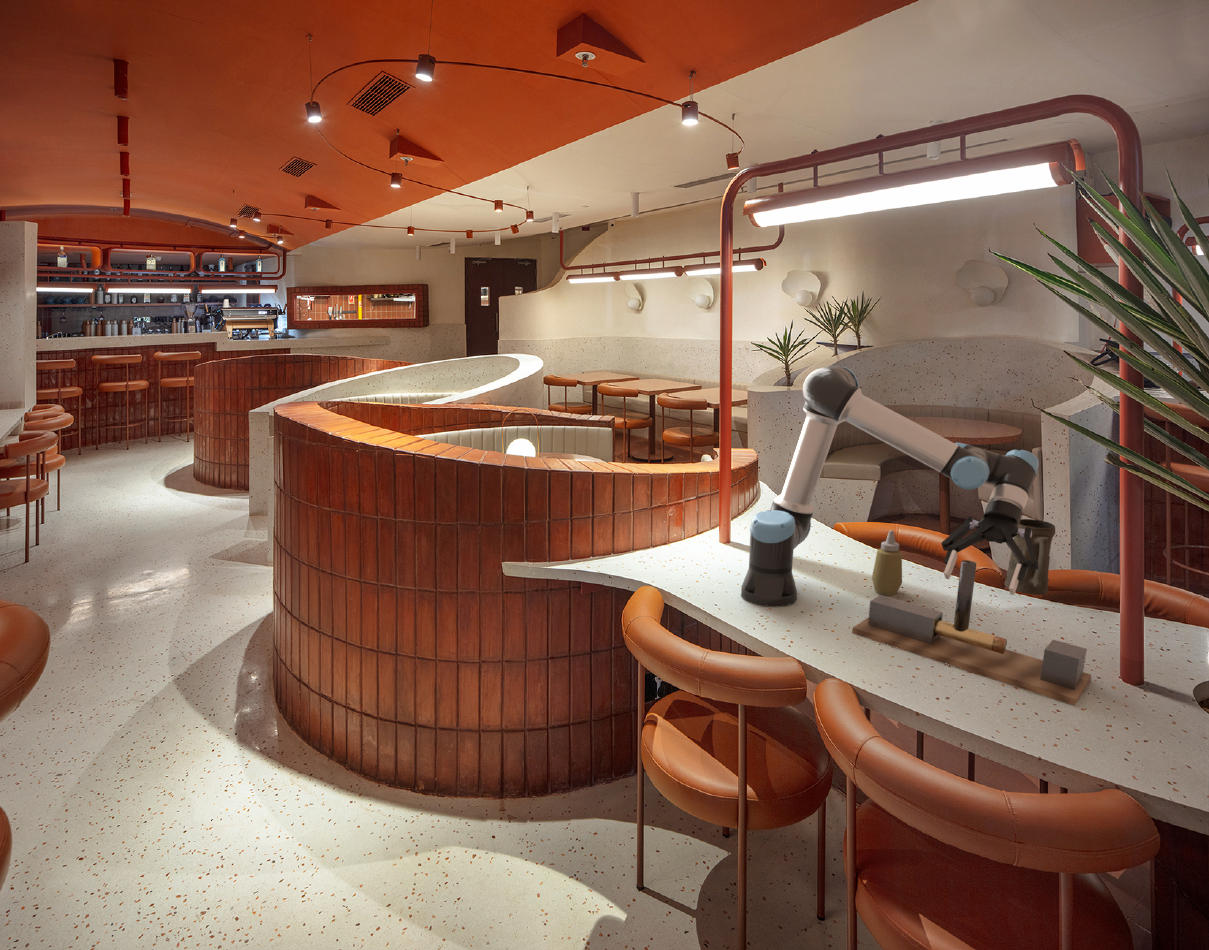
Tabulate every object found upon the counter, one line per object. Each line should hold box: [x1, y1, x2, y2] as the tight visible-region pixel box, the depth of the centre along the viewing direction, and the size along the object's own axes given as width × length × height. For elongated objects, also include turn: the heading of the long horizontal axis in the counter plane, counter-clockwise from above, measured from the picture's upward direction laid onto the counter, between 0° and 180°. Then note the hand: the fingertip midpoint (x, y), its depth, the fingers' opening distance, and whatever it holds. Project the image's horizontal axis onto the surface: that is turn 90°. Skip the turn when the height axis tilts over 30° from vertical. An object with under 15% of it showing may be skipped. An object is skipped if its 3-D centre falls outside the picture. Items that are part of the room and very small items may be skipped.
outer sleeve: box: [868, 594, 944, 644], centre depth 162 cm, size 15×6×6 cm, turn 45°
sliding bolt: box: [934, 560, 1008, 654], centre depth 155 cm, size 27×3×19 cm, turn 45°
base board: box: [851, 616, 1092, 707], centre depth 154 cm, size 46×14×2 cm, turn 45°
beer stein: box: [1004, 518, 1056, 596], centre depth 191 cm, size 15×11×20 cm
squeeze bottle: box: [871, 530, 903, 596], centre depth 190 cm, size 8×8×18 cm
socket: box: [1040, 639, 1088, 690], centre depth 140 cm, size 6×7×7 cm
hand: (977, 583), depth 154 cm, fingers open, 13 cm apart
